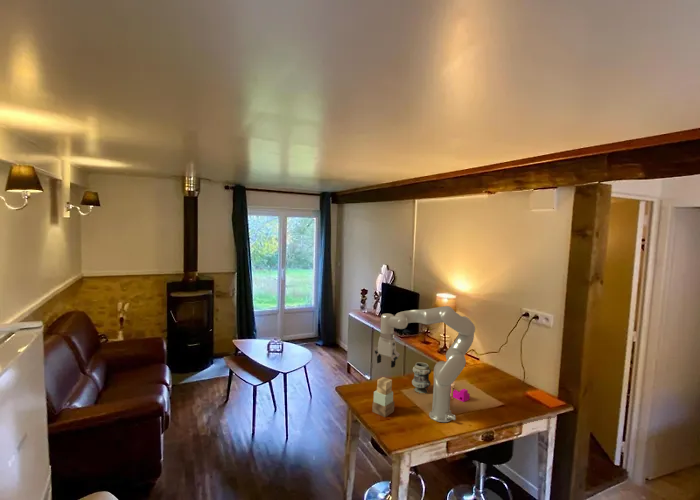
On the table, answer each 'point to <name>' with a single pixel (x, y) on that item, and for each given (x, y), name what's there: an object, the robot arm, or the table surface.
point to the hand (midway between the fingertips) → (385, 364)
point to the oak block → (384, 385)
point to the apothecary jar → (421, 377)
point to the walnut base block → (383, 409)
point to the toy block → (461, 395)
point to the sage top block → (383, 398)
